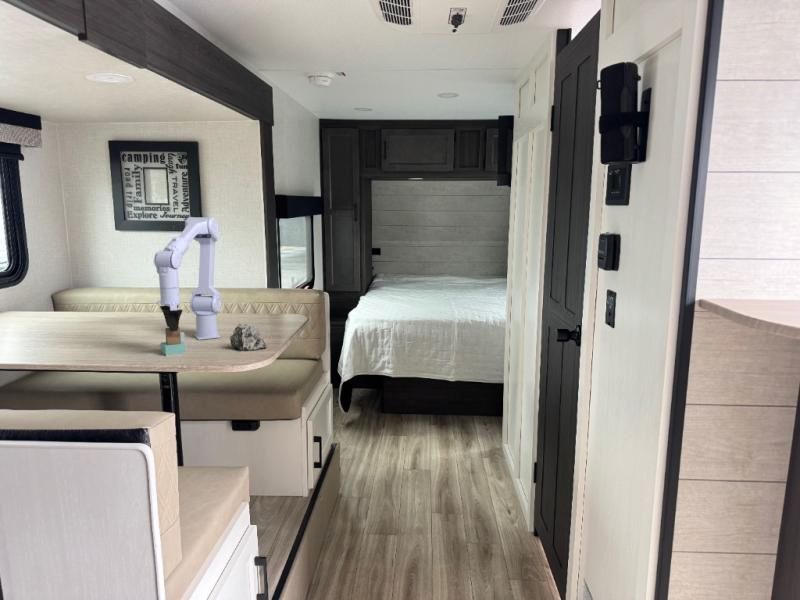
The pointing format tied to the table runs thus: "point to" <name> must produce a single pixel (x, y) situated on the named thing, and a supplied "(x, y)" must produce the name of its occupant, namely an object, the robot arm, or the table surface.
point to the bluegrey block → (182, 337)
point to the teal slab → (172, 348)
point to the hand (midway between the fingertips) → (172, 328)
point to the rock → (247, 338)
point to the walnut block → (173, 337)
